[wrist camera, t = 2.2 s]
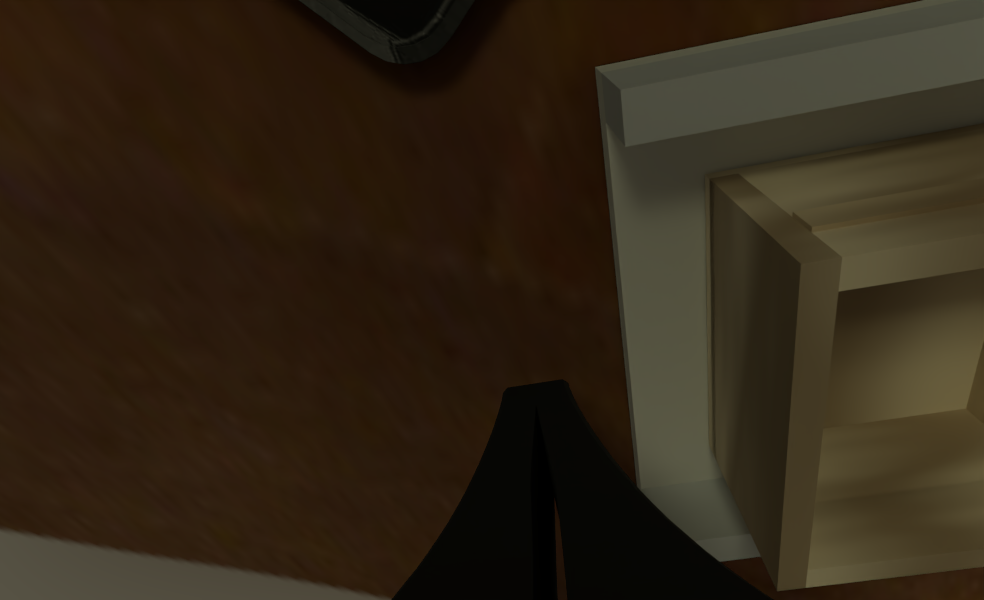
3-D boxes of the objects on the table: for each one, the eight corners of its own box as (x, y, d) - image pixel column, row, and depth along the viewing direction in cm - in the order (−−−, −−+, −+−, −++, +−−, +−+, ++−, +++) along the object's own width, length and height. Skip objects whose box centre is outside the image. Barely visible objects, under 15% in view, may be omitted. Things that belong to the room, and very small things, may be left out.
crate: (1048, 106, 12) (1318, 170, 8) (968, 410, 16) (1124, 553, 12) (705, 170, 13) (802, 257, 9) (708, 447, 17) (777, 594, 13)
